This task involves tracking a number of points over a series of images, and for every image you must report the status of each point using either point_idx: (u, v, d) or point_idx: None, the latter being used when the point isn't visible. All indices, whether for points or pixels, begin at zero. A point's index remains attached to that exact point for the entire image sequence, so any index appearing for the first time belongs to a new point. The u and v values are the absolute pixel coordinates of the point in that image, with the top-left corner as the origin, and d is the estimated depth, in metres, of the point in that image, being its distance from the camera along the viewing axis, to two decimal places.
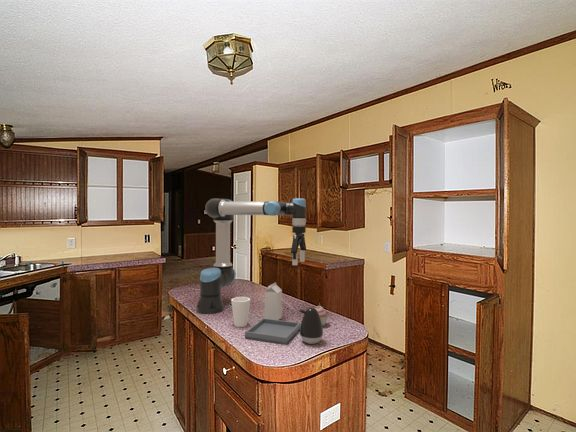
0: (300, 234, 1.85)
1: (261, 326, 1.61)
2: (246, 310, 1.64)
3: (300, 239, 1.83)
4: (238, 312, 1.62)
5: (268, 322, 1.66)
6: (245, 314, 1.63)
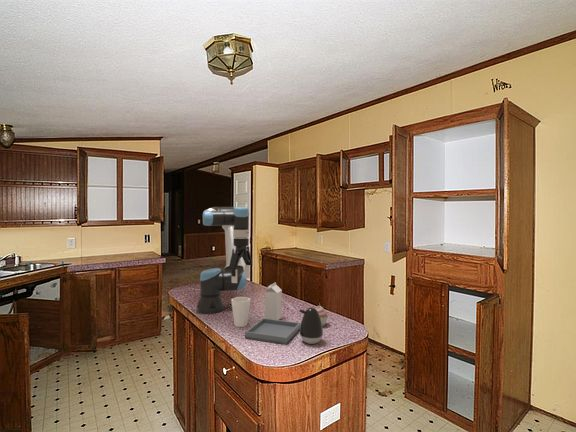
0: (242, 247, 1.64)
1: (261, 326, 1.61)
2: (246, 310, 1.64)
3: (241, 253, 1.63)
4: (238, 312, 1.62)
5: (268, 322, 1.66)
6: (245, 314, 1.63)
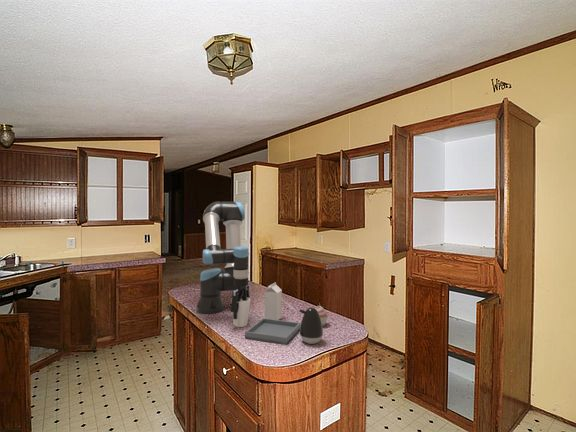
0: (242, 287, 1.65)
1: (261, 326, 1.61)
2: (246, 310, 1.63)
3: (241, 294, 1.63)
4: None
5: (268, 322, 1.66)
6: (245, 314, 1.63)
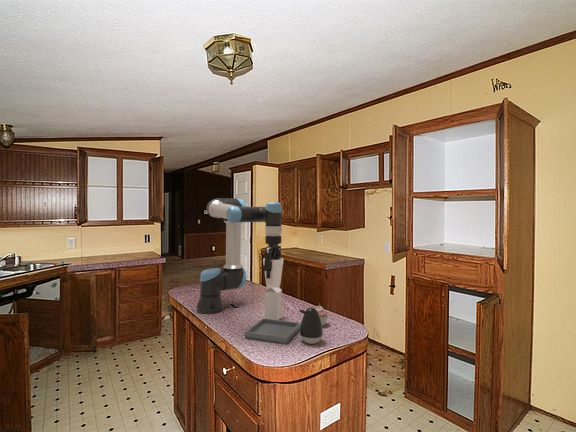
0: (275, 245, 1.53)
1: (261, 326, 1.61)
2: (279, 269, 1.52)
3: (274, 252, 1.52)
4: None
5: (268, 322, 1.66)
6: (278, 274, 1.52)
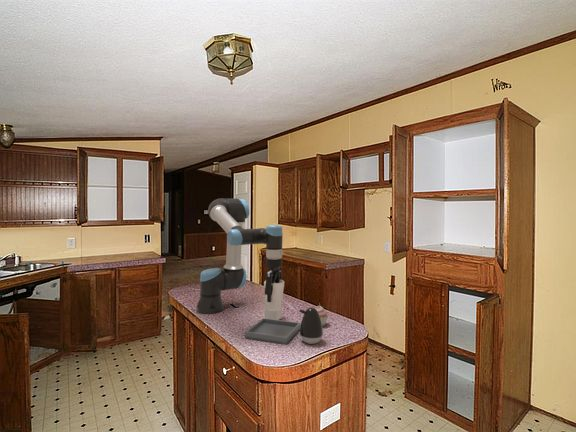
0: (275, 268, 1.53)
1: (261, 326, 1.61)
2: (280, 293, 1.52)
3: (275, 275, 1.52)
4: None
5: (268, 322, 1.66)
6: (279, 297, 1.52)
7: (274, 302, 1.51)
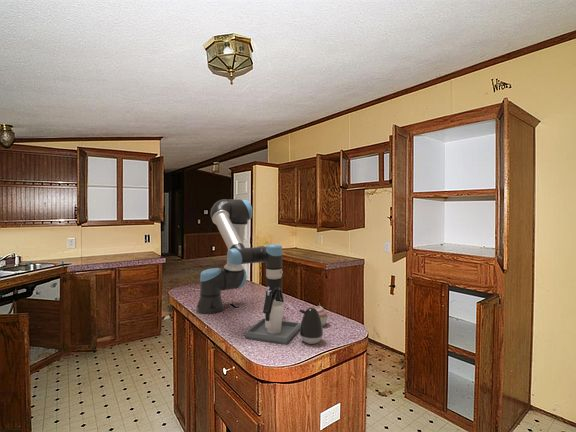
0: (275, 288, 1.53)
1: (261, 326, 1.61)
2: (280, 315, 1.52)
3: (275, 295, 1.52)
4: (272, 318, 1.51)
5: None
6: (279, 320, 1.52)
7: (274, 325, 1.51)
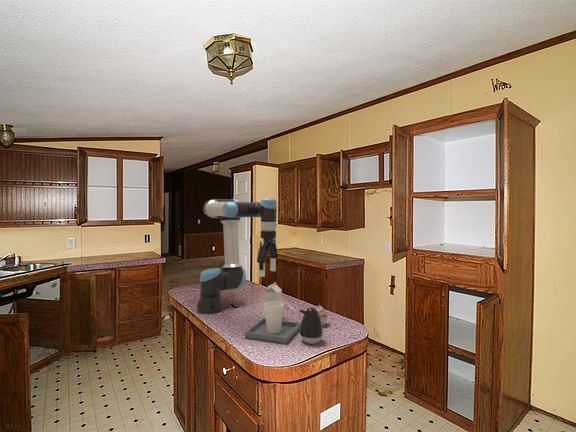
0: (269, 240, 1.59)
1: (261, 326, 1.61)
2: (280, 315, 1.52)
3: (269, 246, 1.57)
4: (272, 318, 1.51)
5: None
6: (279, 320, 1.52)
7: (274, 325, 1.51)
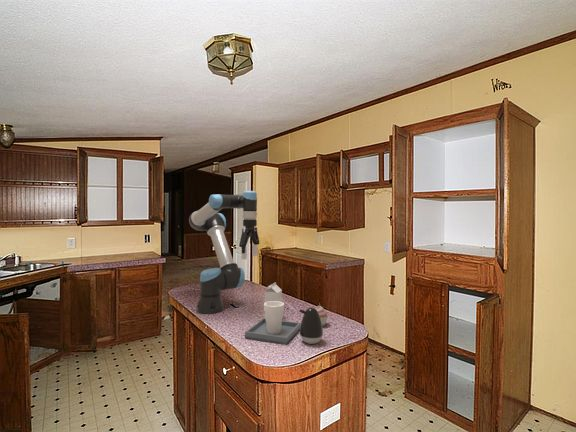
0: (251, 228, 1.80)
1: (261, 326, 1.61)
2: (280, 315, 1.52)
3: (250, 233, 1.79)
4: (272, 318, 1.51)
5: None
6: (279, 320, 1.52)
7: (274, 325, 1.51)
